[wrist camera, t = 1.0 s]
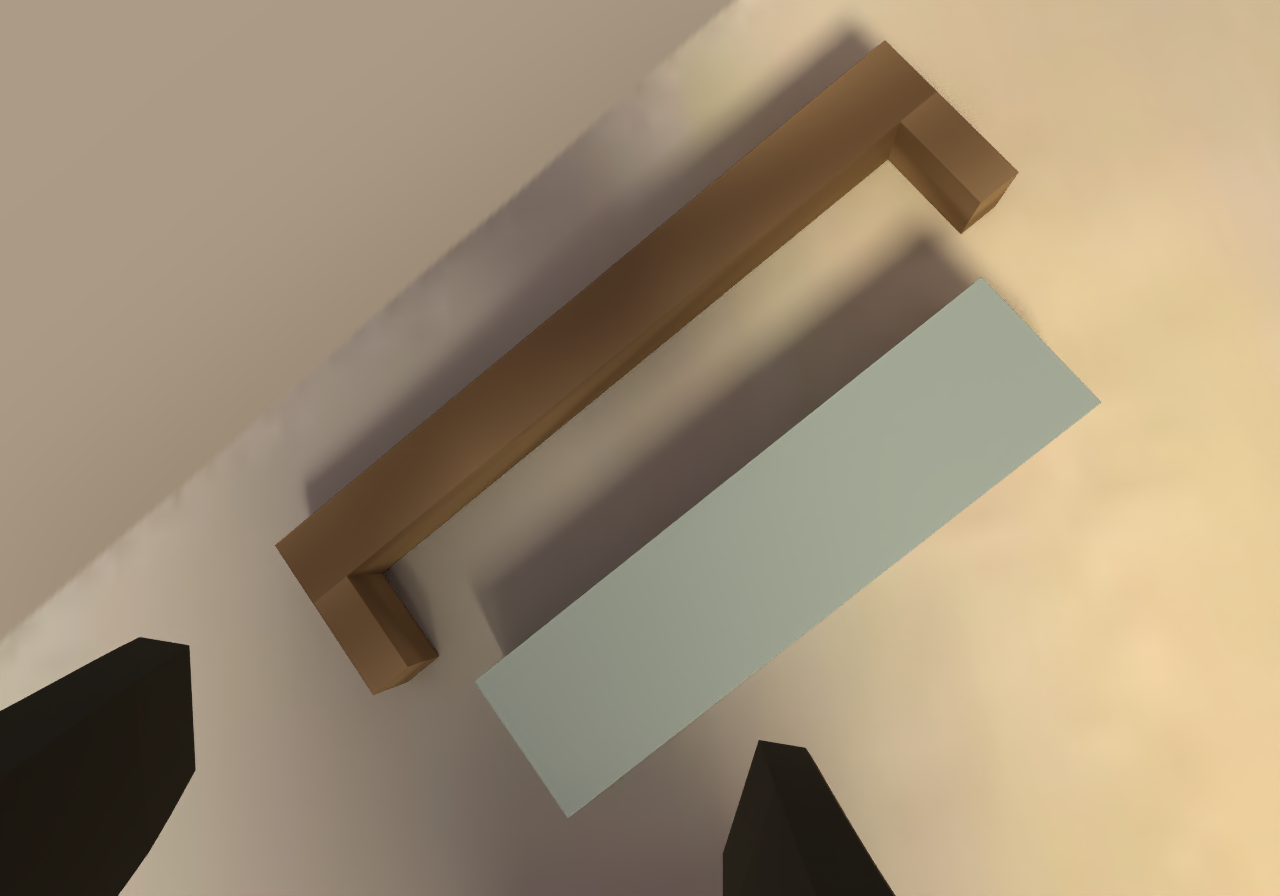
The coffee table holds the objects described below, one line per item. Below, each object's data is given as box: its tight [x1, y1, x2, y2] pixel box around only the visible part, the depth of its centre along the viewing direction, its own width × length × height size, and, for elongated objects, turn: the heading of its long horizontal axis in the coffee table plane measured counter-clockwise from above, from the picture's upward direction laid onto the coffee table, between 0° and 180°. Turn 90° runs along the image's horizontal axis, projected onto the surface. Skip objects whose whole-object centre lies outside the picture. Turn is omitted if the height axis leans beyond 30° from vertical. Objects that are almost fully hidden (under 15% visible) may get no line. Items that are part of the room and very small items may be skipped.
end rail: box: [275, 41, 1018, 695], centre depth 21 cm, size 5×21×2 cm, turn 128°
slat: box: [474, 277, 1101, 818], centre depth 20 cm, size 4×16×3 cm, turn 128°
